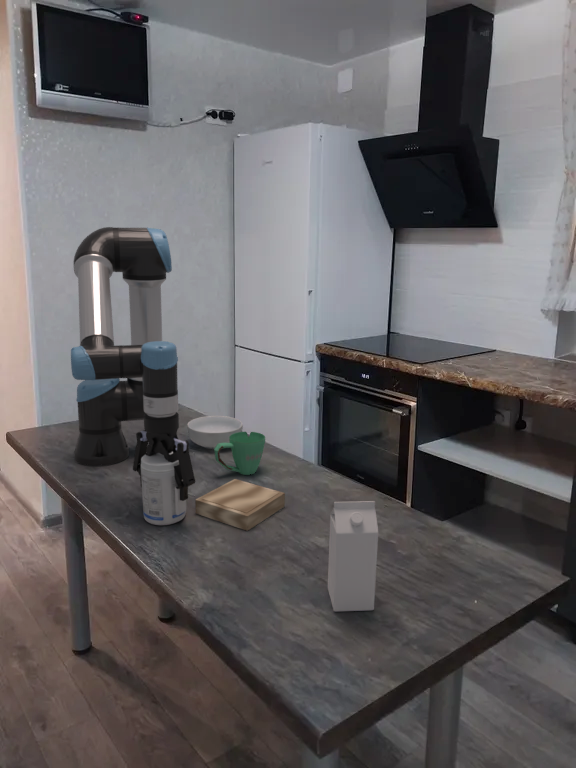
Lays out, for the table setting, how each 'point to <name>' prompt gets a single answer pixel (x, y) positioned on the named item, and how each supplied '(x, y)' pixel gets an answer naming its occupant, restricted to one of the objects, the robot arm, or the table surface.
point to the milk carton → (352, 556)
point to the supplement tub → (159, 490)
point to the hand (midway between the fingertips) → (164, 506)
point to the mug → (243, 452)
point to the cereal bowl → (213, 430)
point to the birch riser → (240, 504)
